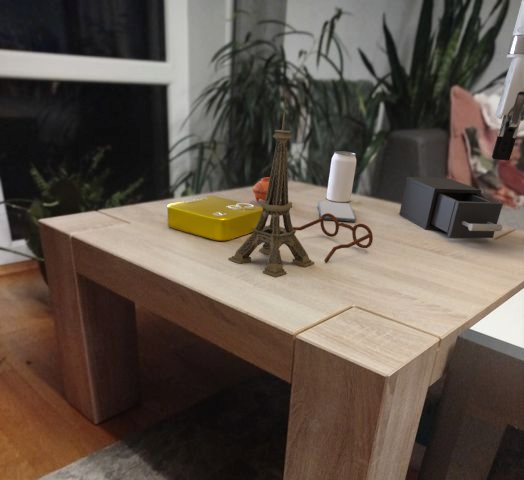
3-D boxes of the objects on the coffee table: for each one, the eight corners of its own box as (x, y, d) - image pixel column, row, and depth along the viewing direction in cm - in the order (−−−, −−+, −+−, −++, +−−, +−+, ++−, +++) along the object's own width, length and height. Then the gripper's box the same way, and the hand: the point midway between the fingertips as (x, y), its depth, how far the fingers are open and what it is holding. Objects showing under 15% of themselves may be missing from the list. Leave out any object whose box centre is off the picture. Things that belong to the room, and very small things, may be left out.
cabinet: (470, 230, 117) (481, 190, 112) (425, 229, 114) (434, 188, 110) (440, 215, 128) (449, 178, 124) (399, 214, 126) (406, 176, 121)
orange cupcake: (289, 206, 123) (286, 178, 120) (259, 213, 123) (255, 185, 119) (281, 197, 130) (277, 171, 126) (252, 204, 129) (247, 177, 125)
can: (351, 203, 133) (359, 155, 127) (327, 201, 132) (333, 153, 127) (348, 198, 138) (355, 152, 133) (325, 196, 138) (331, 150, 132)
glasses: (371, 252, 96) (376, 226, 93) (325, 263, 88) (329, 235, 85) (321, 234, 104) (324, 210, 102) (275, 243, 96) (277, 217, 94)
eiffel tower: (268, 248, 93) (280, 98, 81) (314, 263, 87) (334, 104, 75) (228, 259, 86) (235, 96, 74) (275, 277, 80) (291, 103, 68)
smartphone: (320, 215, 114) (318, 200, 127) (319, 220, 115) (317, 204, 128) (356, 219, 114) (350, 203, 127) (355, 223, 115) (350, 207, 128)
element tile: (210, 214, 112) (211, 192, 110) (266, 228, 105) (268, 205, 103) (163, 226, 101) (162, 202, 98) (221, 243, 94) (222, 217, 91)
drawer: (504, 243, 105) (515, 208, 101) (460, 243, 102) (470, 207, 99) (461, 222, 119) (469, 191, 115) (421, 221, 117) (429, 189, 113)
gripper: (504, 51, 96) (478, 153, 105) (513, 45, 83) (482, 161, 92) (547, 54, 94) (516, 157, 103) (562, 48, 82) (525, 166, 90)
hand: (500, 159), depth 98 cm, fingers closed
